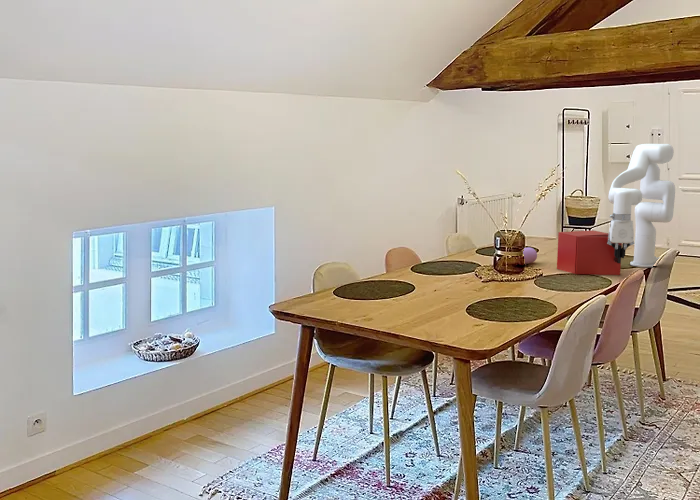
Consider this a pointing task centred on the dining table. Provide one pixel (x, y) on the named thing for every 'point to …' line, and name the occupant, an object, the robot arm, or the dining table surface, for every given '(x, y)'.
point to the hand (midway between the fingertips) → (619, 257)
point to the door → (597, 256)
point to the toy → (529, 255)
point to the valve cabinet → (571, 248)
